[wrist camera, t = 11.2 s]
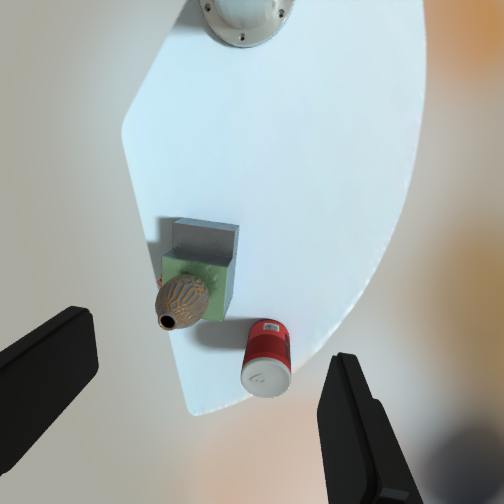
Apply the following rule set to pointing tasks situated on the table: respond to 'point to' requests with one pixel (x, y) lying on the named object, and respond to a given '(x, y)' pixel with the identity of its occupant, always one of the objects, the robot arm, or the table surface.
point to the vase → (181, 302)
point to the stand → (204, 260)
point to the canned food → (267, 360)
